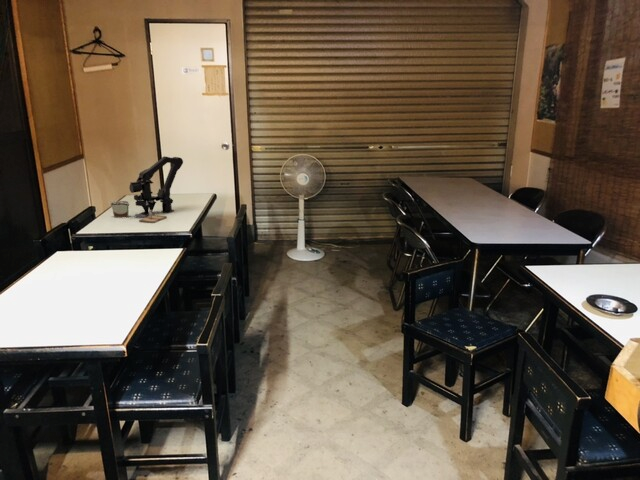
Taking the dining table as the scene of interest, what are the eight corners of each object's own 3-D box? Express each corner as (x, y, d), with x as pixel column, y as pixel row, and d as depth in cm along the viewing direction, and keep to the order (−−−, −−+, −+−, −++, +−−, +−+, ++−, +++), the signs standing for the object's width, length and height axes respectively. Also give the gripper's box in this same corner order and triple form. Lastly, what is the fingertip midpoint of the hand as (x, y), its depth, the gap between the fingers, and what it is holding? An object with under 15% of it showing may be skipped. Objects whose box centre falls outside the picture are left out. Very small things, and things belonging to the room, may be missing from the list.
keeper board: (152, 216, 331) (151, 206, 329) (166, 217, 328) (165, 207, 326) (139, 222, 318) (137, 211, 316) (153, 223, 315) (152, 212, 313)
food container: (134, 215, 336) (132, 200, 333) (129, 217, 330) (128, 202, 327) (116, 215, 337) (114, 200, 334) (112, 217, 331) (110, 202, 328)
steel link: (144, 214, 338) (144, 211, 338) (154, 214, 336) (154, 212, 336) (135, 217, 329) (135, 214, 329) (145, 218, 327) (145, 215, 326)
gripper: (144, 187, 343) (147, 209, 347) (127, 192, 326) (130, 215, 330) (158, 188, 339) (161, 210, 344) (141, 193, 322) (144, 216, 327)
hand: (149, 213), depth 336 cm, fingers open, 4 cm apart
